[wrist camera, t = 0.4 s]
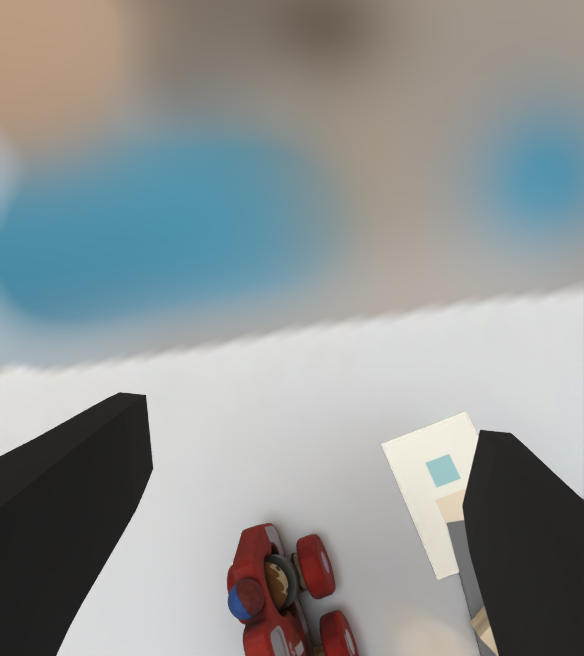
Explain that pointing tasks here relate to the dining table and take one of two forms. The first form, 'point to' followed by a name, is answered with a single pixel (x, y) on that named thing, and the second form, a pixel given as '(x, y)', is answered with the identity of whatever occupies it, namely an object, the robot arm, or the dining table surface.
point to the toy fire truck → (283, 596)
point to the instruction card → (435, 482)
